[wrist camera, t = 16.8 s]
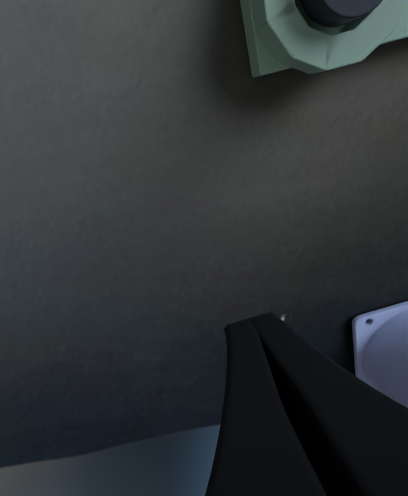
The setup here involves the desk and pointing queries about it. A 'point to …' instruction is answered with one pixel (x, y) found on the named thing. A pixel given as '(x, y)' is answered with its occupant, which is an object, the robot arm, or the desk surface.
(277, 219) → the desk surface
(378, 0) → the button
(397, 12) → the green flat slab
